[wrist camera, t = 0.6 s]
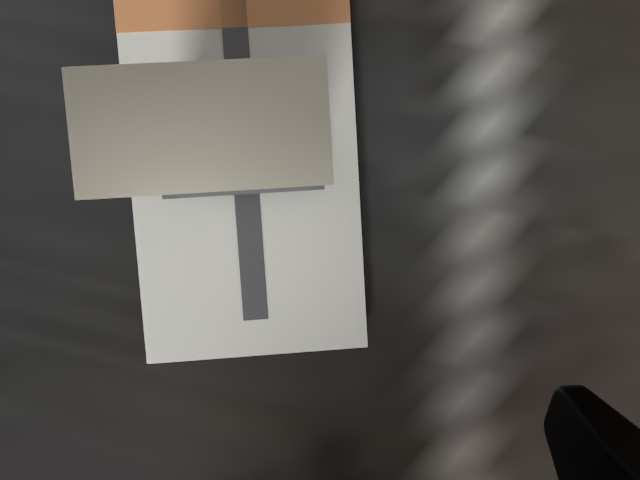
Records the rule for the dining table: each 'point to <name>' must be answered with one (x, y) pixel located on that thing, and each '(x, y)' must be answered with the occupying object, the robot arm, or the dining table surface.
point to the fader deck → (251, 201)
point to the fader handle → (199, 127)
